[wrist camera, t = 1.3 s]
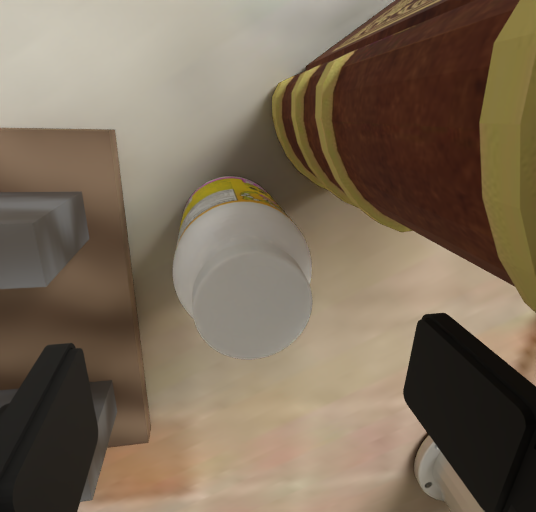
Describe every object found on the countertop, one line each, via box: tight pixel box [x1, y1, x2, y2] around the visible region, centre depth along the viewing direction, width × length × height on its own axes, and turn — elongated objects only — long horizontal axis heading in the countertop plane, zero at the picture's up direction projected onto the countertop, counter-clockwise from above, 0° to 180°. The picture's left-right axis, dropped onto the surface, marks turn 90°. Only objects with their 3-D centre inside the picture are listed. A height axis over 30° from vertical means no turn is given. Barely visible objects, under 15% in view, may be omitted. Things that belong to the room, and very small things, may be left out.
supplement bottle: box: [173, 176, 312, 360], centre depth 20 cm, size 7×7×13 cm
